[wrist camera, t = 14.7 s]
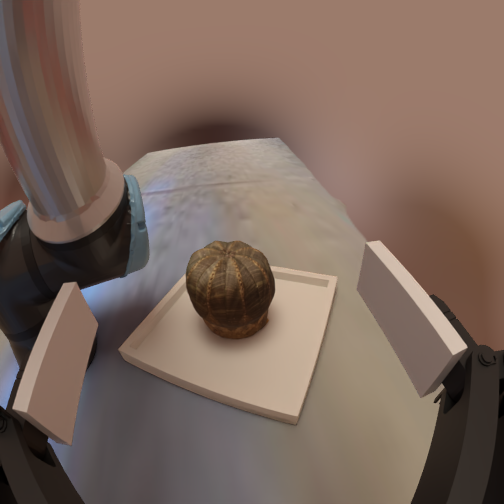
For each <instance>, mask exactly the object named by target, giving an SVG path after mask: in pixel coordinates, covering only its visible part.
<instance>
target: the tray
mask: <svg viewBox="0 0 504 504" xmlns="http://www.w3.org/2000/svg"><path fill="white" fill-rule="evenodd" d="M270 268H271V271H272V273H273V276H274V279H275V294H274V297H273V299H272V302H271V304H270V306H269V309H268V316H267V318H268V320H269V321H268V323H267V324H266V325H265V326H264V327H263V329H261V330H259V331H258V332H257V333H256V334H254V335H253V336H250V337H247V338H242V339H228V338H222V337H220V336H218V335H216V334H214V333H213V332H212V331H211V330H210V329H209V328H208V326H207V325H206V324H205V322H204V320H203V318H202V317H200V316H199V315H198V313H197V312H196V311H195V309H194V307H193V305H192V302H191V301H190V297H189V294H188V293H187V289H186V274H185V275H184V276H183V277H182V278H181V279H180V280H179V281H178V282H177V283H176V285H175V286H174V287H173V288H172V289H171V290H170V291H169V292H168V293H167V294H166V296H165V297H164V298H163V299H162V300H161V301H160V302H159V303H158V304H157V306H156V307H155V308H154V309H153V310H152V311H151V312H150V313H149V314H148V316H147V317H146V318H145V319H144V320H143V321H142V322H141V324H140V325H139V326H138V327H137V328H136V329H135V330H134V332H133V333H132V334H131V335H130V336H129V337H128V338H127V340H126V341H125V342H124V343H123V344H122V345H121V347H120V348H119V349H118V350H119V352H120V353H121V355H122V357H123V358H124V360H125V361H127V362H129V363H131V364H132V365H134V366H136V367H138V368H140V369H142V370H144V371H146V372H149V373H151V374H153V375H155V376H157V377H159V378H161V379H163V380H166V381H168V382H170V383H172V384H175V385H177V386H179V387H182V388H184V389H186V390H189V391H191V392H194V393H196V394H199V395H201V396H204V397H207V398H209V399H212V400H215V401H217V402H220V403H223V404H226V405H229V406H232V407H235V408H238V409H241V410H244V411H247V412H250V413H253V414H257V415H260V416H263V417H267V418H270V419H274V420H278V421H282V422H285V423H289V424H293V425H296V424H297V421H298V419H299V416H300V413H301V410H302V407H303V404H304V401H305V398H306V395H307V392H308V389H309V386H310V383H311V380H312V377H313V373H314V370H315V367H316V363H317V360H318V357H319V353H320V350H321V346H322V342H323V339H324V335H325V331H326V328H327V324H328V320H329V316H330V312H331V308H332V304H333V299H334V295H335V291H336V285H337V278H338V277H336V276H330V275H323V274H317V273H311V272H305V271H299V270H293V269H287V268H281V267H275V266H270Z"/></svg>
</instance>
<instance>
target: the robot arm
mask: <svg viewBox="0 0 504 504" xmlns="http://www.w3.org/2000/svg"><path fill="white" fill-rule="evenodd" d="M0 144H1V146H2V148H3V150H4V153H5V155H6V157H7V159H8V161H9V163H10V165H11V167H12V169H13V171H14V173H15V175H16V177H17V179H18V181H19V183H20V185H21V186H22V188H23V190H24V192H25V194H26V195H27V197H28V198H29V204H28V209H27V210H26V205H25V204H24V203H23V202H22V201H21V200H18V201H17V202H13V203H12V204H10V205H8V206H7V207H5V208H4V209H2V210H1V211H0V329H1V330H2V331H3V333H4V334H5V336H6V337H7V338H8V340H9V342H10V345H11V348H12V350H13V353H14V355H15V358H16V360H17V362H18V365H19V367H20V368H19V371H18V374H17V377H16V378H17V379H16V380H15V382H14V385H13V388H12V391H11V395H10V398H9V401H8V404H7V408H6V410H5V409H4V408H3V407H1V406H0V504H85V503H84V502H83V500H82V499H81V497H80V496H79V494H78V493H77V491H76V490H75V488H74V486H73V485H72V483H71V481H70V480H69V478H68V476H67V475H66V473H65V471H64V469H63V467H62V466H61V464H60V462H59V460H58V458H57V456H56V454H55V452H54V450H53V448H52V446H51V445H50V444H49V443H48V442H47V441H48V437H49V438H51V439H52V440H54V441H55V442H56V443H60V444H65V445H70V446H72V438H73V432H74V425H75V419H76V414H77V408H78V403H79V398H80V393H81V389H82V384H83V380H84V376H85V372H86V369H87V367H88V366H89V364H90V363H91V361H92V359H93V357H94V354H95V351H96V345H97V339H96V331H97V328H98V325H99V324H98V323H97V321H96V319H95V317H94V315H93V314H92V312H91V310H90V308H89V306H88V304H87V302H86V301H85V299H84V297H83V295H82V293H81V291H80V290H82V289H85V288H88V287H91V286H94V285H97V284H100V283H103V282H106V281H109V280H112V279H116V278H119V277H120V278H123V277H126V276H127V275H128V274H130V273H132V272H135V271H138V270H140V269H142V268H144V267H145V266H146V264H147V263H148V260H149V239H148V232H147V227H146V224H145V222H146V221H145V212H144V207H143V201H142V197H141V192H140V188H139V185H138V182H137V179H136V178H135V177H134V176H133V175H123V173H122V172H121V170H120V168H119V167H118V165H116V164H115V163H114V162H113V161H111V160H109V159H107V158H104V157H103V154H102V150H101V146H100V142H99V138H98V133H97V129H96V125H95V120H94V116H93V110H92V105H91V100H90V94H89V89H88V83H87V76H86V70H85V63H84V55H83V47H82V37H81V22H80V1H79V0H0ZM357 291H358V292H359V294H360V295H361V297H362V298H363V300H364V302H365V303H366V305H367V306H368V308H369V310H370V311H371V313H372V314H373V316H374V318H375V319H376V321H377V322H378V324H379V326H380V327H381V329H382V331H383V332H384V334H385V336H386V337H387V339H388V341H389V342H390V344H391V346H392V347H393V349H394V351H395V353H396V354H397V356H398V358H399V360H400V361H401V363H402V365H403V367H404V368H405V370H406V372H407V374H408V376H409V377H410V379H411V381H412V383H413V385H414V387H415V388H416V390H417V392H418V394H419V396H420V398H422V397H424V396H426V395H428V394H430V393H432V392H434V391H436V389H437V388H438V387H439V386H440V384H441V383H442V384H443V385H444V387H445V388H444V389H443V390H442V391H441V392H440V394H439V395H438V396H437V397H436V398H435V401H434V403H437V401H438V400H439V399H440V398H441V401H440V403H439V404H440V407H439V412H438V417H437V421H436V426H435V430H434V434H433V438H432V442H431V446H430V450H429V453H428V456H427V460H426V463H425V466H424V469H423V472H422V475H421V478H420V481H419V484H418V486H417V489H416V492H415V494H414V497H413V499H412V502H411V504H504V350H501V351H493V350H492V349H491V348H490V347H488V346H486V345H479V346H478V345H477V344H476V343H475V341H474V340H473V339H472V337H471V336H470V335H469V333H468V332H467V331H466V329H465V328H464V327H463V325H462V324H461V323H460V322H459V320H458V319H456V316H455V315H454V314H453V313H452V312H451V311H450V309H449V308H448V306H447V305H446V304H445V303H444V302H443V301H442V300H441V299H439V298H438V297H436V296H435V295H430V296H428V295H427V293H425V291H424V290H423V289H422V287H421V286H420V285H419V284H418V283H417V282H416V280H415V279H414V278H413V277H412V276H411V274H410V273H409V272H408V271H407V270H406V269H405V268H404V267H403V266H402V264H401V263H400V262H399V261H398V260H397V259H396V258H395V257H394V256H393V255H392V254H391V252H390V251H389V250H388V249H387V248H386V247H385V246H384V245H383V244H382V243H381V242H380V241H373V242H366V244H365V250H364V255H363V261H362V266H361V271H360V276H359V281H358V285H357Z"/></svg>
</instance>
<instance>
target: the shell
mask: <svg viewBox="0 0 504 504" xmlns="http://www.w3.org/2000/svg"><path fill="white" fill-rule="evenodd" d="M186 289H187V293H188V294H189V297H190V301H191V302H192V305H193V307H194V309H195V311H196V312H197V313H198V315H199V316H200V317H202V318H203V320H204V322H205V324H206V325H207V326H208V328H209V329H210V330H211V331H212V332H213V333H214V334H216V335H218V336H220V337H222V338H228V339H242V338H247V337H250V336H253V335H254V334H256V333H257V332H258V331H259V330H261V329H263V327H264V326H265V325H266V324H267V323H268V321H269V320H268V318H267V316H268V309H269V306H270V304H271V302H272V299H273V297H274V294H275V279H274V276H273V273H272V271H271V268H270V265H269V263H268V260H267V258H266V257H265V256H264V255H263V253H262V252H260V251H259V250H257V249H254V248H252V247H251V246H249V245H248V244H246V243H243V242H241V241H233V242H229V243H227V242H222V241H214V242H212V243H210V244H209V245H207V246H205V247H204V248H203V249H200V250H198V251H196V252H194V253H193V254H192V256H191V258H190V260H189V263H188V266H187V269H186Z"/></svg>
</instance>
